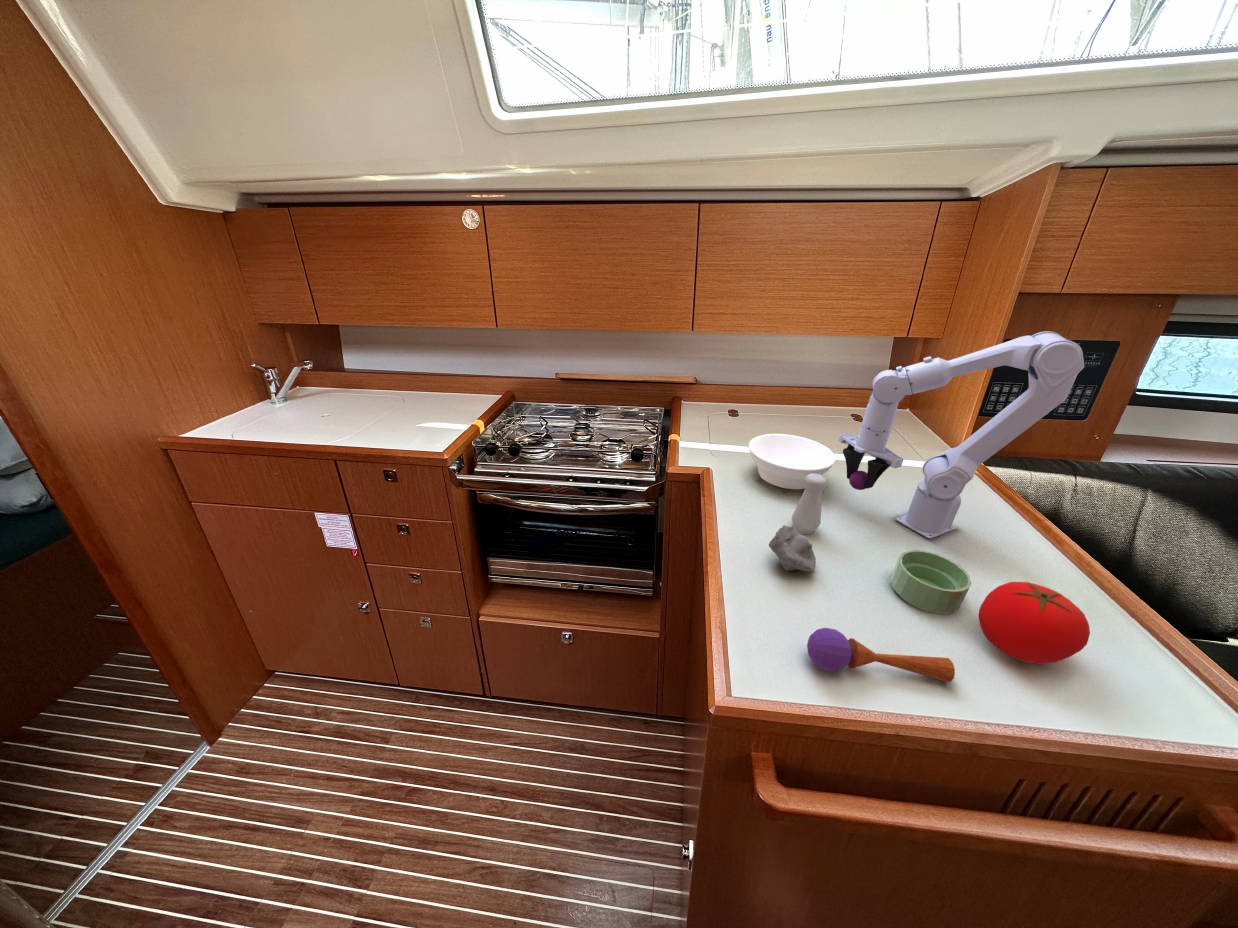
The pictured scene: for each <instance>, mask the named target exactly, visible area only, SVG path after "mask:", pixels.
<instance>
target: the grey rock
mask: <svg viewBox="0 0 1238 928" xmlns="http://www.w3.org/2000/svg"><path fill="white" fill-rule="evenodd" d="M768 547H769V548H770V550H771V551H772V552H773V553H774V554H775V556H776V557H777V558H778V559H779V562H780V563H781V566H782V567H783V569H784V570H785V571H795V570H798V571H802V572H807V573H814V572H815V569H816V561H817V558H816V556H815V553H814V550H813V544H811V542H810V540H809V538H808V537H807V536H805V535H804V534H802V533H800V532H799V531H797V530H796V529H795V528H794V527H793V526H789V525H785V524H783V525H782V526H781V527H780V528H779V529H778V530H777V531H776V532H775V535H774V536H773V538H772V539H771V540H770V541H769V543H768Z"/></svg>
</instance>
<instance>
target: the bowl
mask: <svg viewBox="0 0 1238 928" xmlns="http://www.w3.org/2000/svg"><path fill="white" fill-rule="evenodd" d="M748 448H749V449H748V450H749V452H750V457H751V459H752V461H753V463H754V464H755V465H757V471H758V475H759V476H760V478H761V479H762V480H763V481H765V482H766V483H768V484H771V485H773V486H776V487H778V488H783V489H789V490H803V489H804V490H805V489H806V486H805V483H804V481H805V478H806V476H807V475H809V474H812V473H813V474H820V475H822V476H824V475H825V474H827V472H828V471H829V470H830V469H831V468H832V467H833V465H834V464H836V461H837V458H836V455H835V453H834V452H833V451H832V450H831V449H830V448H829V447H827V446H825V445H824V444H822V443H820V442H818V441H815V440H812V439H810V438H807V437H804V436H799V435H793V434H786V433H767V434H761V435H758V436H755V437H754V438H752V439H751V440H750V441H749V442H748Z"/></svg>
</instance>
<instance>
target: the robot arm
mask: <svg viewBox="0 0 1238 928" xmlns="http://www.w3.org/2000/svg"><path fill="white" fill-rule="evenodd" d="M922 360H923V361H921V362H917V363H914V364H911V365H907V366H905V367H903V366H902V365H899V366H896V367H895V370H892V369H886V370H882V371H881V372H879V373H877V375H875V376H874V378H873V379H872V380H871V388H872V392H871V395H870V396H869V399H868V403H867V405H866V406H865V407H866V408H865V411H864V415H863V419H862V421H861V425H860V429H859V431H858V436H856V435H853V434H851V433H848V432H845V433H844V432H843V433H840V434H839V438H838V441H837V442H839V443H840V444H845V445H847V446H846V447H844V448H843V449H842V453H843V456H844V460H845V464H846V465H845V466H846V479H847V480H849V478H850V476H851V474H852V473H854V472H855V471H859V468H860V465H861V463H862V460H863V458H864V457H865V454H866V455H869V456H871V457H873V458H874V459H870V460H868V461H867V471H866V473H867V477H866V480H865V484H864V488H866V489H865V490H867V489H868V490H869V489H871V488H873V487H874V485H875V483H876V482H877V481H878V480H879V478H880V477H881V476H882V475H883V474H884V473H885V472H886V471H887V470H888V469H889V468H890V467H891V468H893V469H898V468H901V467H902V465H903V463H904V458H903V457H901V456H900V455H898V454H896V453H894V452H893V451H892V450H890V449H889V448H888V447H886V446H887V444H888V440H889V437H890V435H891V431H892V428H893V425H894V421H895V419H896V415H897V412H898V405H899V403H900V402H901V401H902V400H903V399H904V398H905V397H906V396H912V395H916V394H918V393H923V392H927V391H931V390H934V389H938V388H941V387H945V386H947V385H948V383H949V382H950V381H951V380H952V379H953V378H956V377H959V376H965V375H969V374H973V373H978V372H982V371H985V370H986V371H987V370H990V369H994V368H999V367H1002V366H1003V367H1004V366H1007V367H1012V368H1016V369H1019V370H1024V371H1028V373H1027V374H1028V388H1027V390H1025V391H1024V392H1022V393H1021V394H1020V395H1019V396H1018V397H1016V398H1015V399H1014V400H1013V401H1011V403H1010V404H1008V405H1007V406H1006V407H1005V408H1003V409H1002V410H1000V411H999V412H998V413H997V414H996V415H994V416H993V417H992V418H991V419H990V420H988V421H987V422H986V423H984V424H983V425H982V426H980V427H979V429H977V430H976V431H974V433H972V434H971V435H970V436H969V437H967V438H966V439H965V440H964V441H962V442H961V443H960V444H958V445H957V446H955V447H951V448H948V449H946V450H945V451H944V452H942V453H940V454H937V455H934V456H932V457H929V458H927V459H926V461H924V463H923V466H922V473H923V475H924V478H923V479H922V480H921V481H920V482H918V483H917V487H916V489H915V492H914V494H913V497H912V499H911V502H910V505H909V508H908V510H907V513H906V514H905V515H902V516H899V517H896V519H895V521H897V522H898V523H900V524H902V525H903V526H905V527H906V528H909V529H910V530H912V531H913V532H916V533H917V534H919V535H921V536H922V537H924V538H926V539H928V540H931V539H934V538H936V537H939V536H942V535H944V534H946V533H950V532H951V531H955V530H956V526H954V525H953V522H954V521H955V518H956V516H957V513H958V511H959V509H960V507H961V503H962V497H961V494H962V492H963V491H964V489H965V486H966V485H967V484H968V483H969V482H970V481H972V480H973V479H974V476H975V474H976V472H977V470H978V468H979V466H981V465H982V464H984V463H985V462H986V461H987V460H989V459H990V458H992V456H994V455H995V454H996V453H998V452H999V451H1001V450H1002V449H1003V448H1005V446H1007V445H1008V444H1010V443H1011V442H1013V440H1015V439H1016V438H1017V437H1018V436H1020V435H1022V434H1023V433H1024V432H1025V431H1027V430H1028V429H1029V428H1031V427H1032V426H1034V424H1036V423H1037V422H1039V421H1040V420H1041V419H1043V418H1044V417H1045V416H1046V415H1048V414H1049V413H1050V412H1051V411H1053V410H1054V409H1055V408H1057V407H1058V406H1059V405H1061V404H1062V403H1063V402H1064V401H1065V400H1066V399H1067V398H1068V396H1069V395H1070V393H1071V391H1072V388H1073V387H1074V386H1073V385H1074V384H1075V381H1076V378H1077V376H1078V374H1079V373H1080V372H1081V371H1083V370H1084V368H1085V361H1084V352H1083V349H1082V347H1081V346H1080V345H1079V344H1078V343H1076V342H1075V341H1073V340H1069V339H1066V338H1065V337H1063V336H1062V335H1061V334H1060V333H1058V332H1055V331H1050V330H1049V331H1047V330H1046V331H1040V332H1037V333H1035V334H1031V335H1022V336H1019V337H1016V338H1013V339H1011V340H1008V341H1005V342H1002V343H999V344H995V345H993V346H990V347H986V348H983V349H980V350H977V351H974V352H971V353H968V354H965V355H962V356H959V357H956V358H953V359H950V360H946V359H944V358H941V357H934V358H932V356H926V357H924V358H923V359H922Z"/></svg>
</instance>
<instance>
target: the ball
mask: <svg viewBox="0 0 1238 928" xmlns="http://www.w3.org/2000/svg"><path fill="white" fill-rule="evenodd" d="M866 477H867V471H864V470H858V471H855V472H854V473H852V474H851V476H850V478H849V479H848V480H849V485H850V486H851V488H853V489H854V490H857V491H865V490H867V489H866V488H864V484H865V480H866Z"/></svg>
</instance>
